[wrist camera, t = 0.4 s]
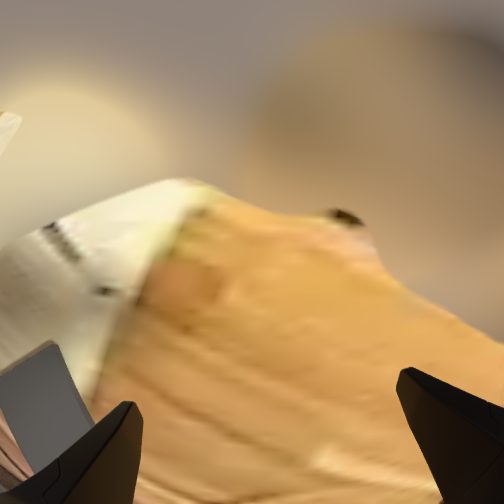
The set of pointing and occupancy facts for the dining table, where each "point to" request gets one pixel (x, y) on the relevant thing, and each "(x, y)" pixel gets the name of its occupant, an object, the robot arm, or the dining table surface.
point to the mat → (43, 407)
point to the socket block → (7, 480)
